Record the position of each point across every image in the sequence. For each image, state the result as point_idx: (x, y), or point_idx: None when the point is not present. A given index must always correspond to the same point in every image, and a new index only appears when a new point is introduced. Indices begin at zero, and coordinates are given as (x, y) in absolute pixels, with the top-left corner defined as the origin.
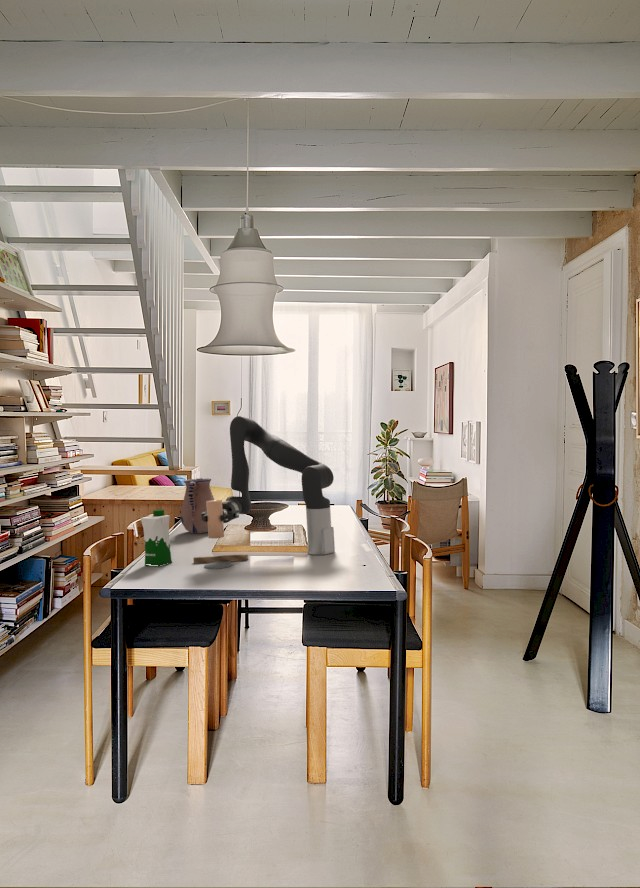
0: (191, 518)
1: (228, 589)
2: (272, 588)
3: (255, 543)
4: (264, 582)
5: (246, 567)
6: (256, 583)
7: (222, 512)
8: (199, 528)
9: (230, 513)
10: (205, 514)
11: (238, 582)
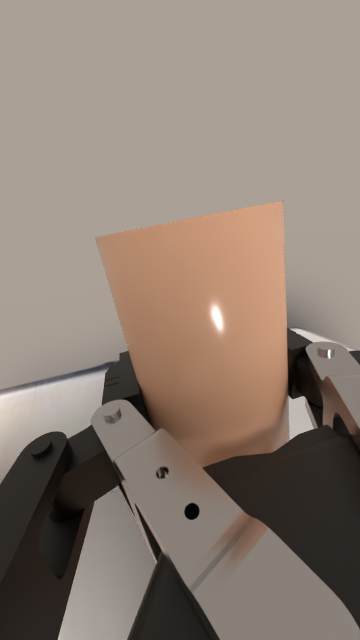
0: None
1: (91, 374)
2: (12, 397)
3: None
4: (22, 421)
5: (78, 592)
6: (40, 411)
7: (132, 362)
8: None
9: (55, 434)
10: (332, 347)
11: (80, 407)
